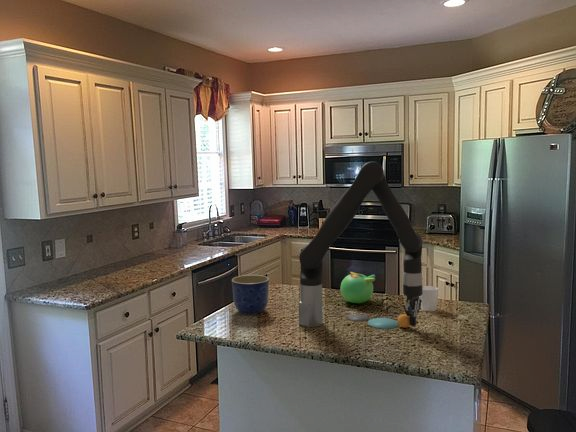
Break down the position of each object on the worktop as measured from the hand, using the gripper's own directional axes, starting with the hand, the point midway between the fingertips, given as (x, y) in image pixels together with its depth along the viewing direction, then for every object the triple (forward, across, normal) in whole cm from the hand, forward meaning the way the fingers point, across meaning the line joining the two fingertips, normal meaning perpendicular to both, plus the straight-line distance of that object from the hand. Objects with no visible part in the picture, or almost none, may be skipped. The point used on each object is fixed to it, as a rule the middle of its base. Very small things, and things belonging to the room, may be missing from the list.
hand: (412, 325), depth 188 cm
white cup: (+2, -30, -5) cm, 30 cm away
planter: (0, +20, -69) cm, 72 cm away
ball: (-1, 0, -4) cm, 4 cm away
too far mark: (+1, 0, -25) cm, 25 cm away
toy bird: (+1, -21, -37) cm, 42 cm away
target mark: (+2, 0, -13) cm, 13 cm away
